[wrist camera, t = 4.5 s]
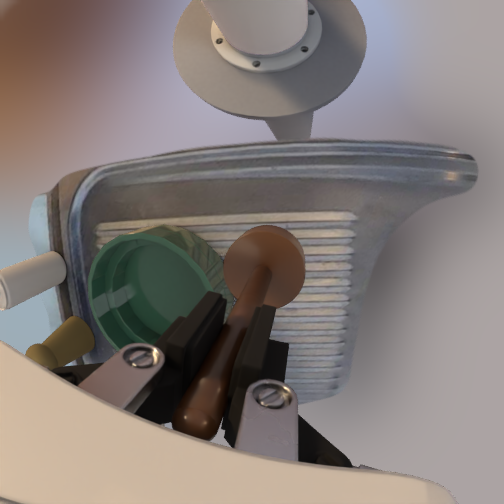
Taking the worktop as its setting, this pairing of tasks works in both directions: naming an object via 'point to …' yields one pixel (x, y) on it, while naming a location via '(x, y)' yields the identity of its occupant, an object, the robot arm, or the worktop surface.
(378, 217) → the worktop surface
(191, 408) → the brown rod with base
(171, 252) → the bowl
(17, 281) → the beverage can
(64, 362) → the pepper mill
